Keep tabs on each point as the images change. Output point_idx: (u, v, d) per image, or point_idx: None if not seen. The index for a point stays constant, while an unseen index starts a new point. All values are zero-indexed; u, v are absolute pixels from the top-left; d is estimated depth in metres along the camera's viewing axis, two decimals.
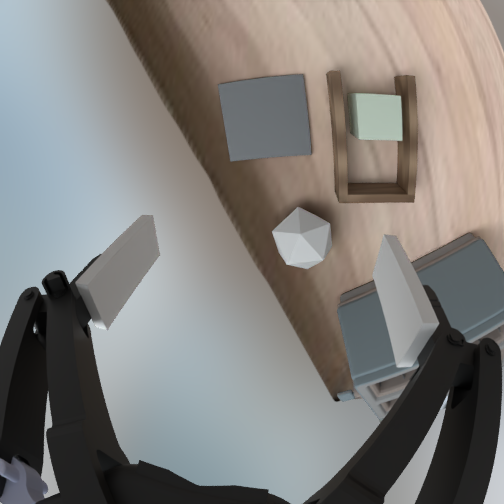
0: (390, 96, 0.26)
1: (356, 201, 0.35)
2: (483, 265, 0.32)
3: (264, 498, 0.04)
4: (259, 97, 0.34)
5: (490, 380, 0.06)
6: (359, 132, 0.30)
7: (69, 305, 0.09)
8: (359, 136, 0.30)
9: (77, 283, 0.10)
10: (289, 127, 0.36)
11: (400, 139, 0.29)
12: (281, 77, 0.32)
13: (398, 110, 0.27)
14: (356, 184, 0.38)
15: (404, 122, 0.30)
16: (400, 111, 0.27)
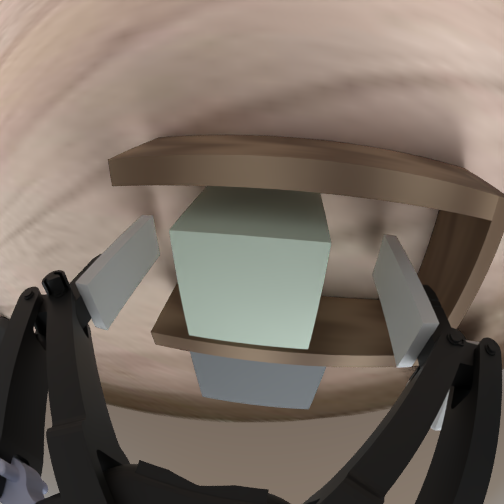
0: (178, 262, 0.11)
1: None
2: None
3: (264, 498, 0.04)
4: (224, 376, 0.24)
5: (490, 380, 0.06)
6: (289, 345, 0.13)
7: (69, 305, 0.09)
8: (300, 346, 0.13)
9: (77, 283, 0.10)
10: None
11: (325, 249, 0.10)
12: None
13: (219, 244, 0.10)
14: None
15: None
16: (222, 237, 0.10)
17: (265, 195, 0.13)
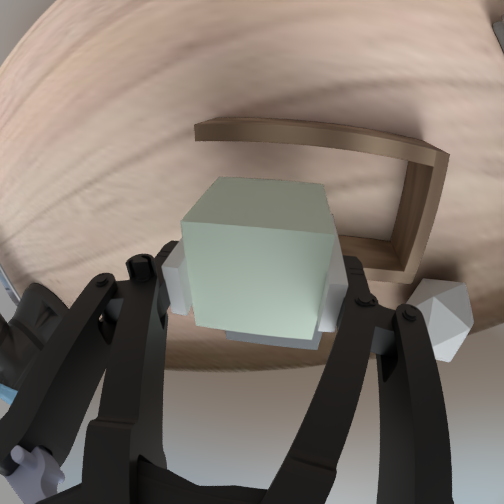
0: (188, 252, 0.11)
1: (418, 260, 0.19)
2: None
3: None
4: None
5: (417, 347, 0.07)
6: (294, 336, 0.13)
7: (151, 293, 0.10)
8: (304, 336, 0.13)
9: (164, 267, 0.11)
10: None
11: (329, 240, 0.10)
12: None
13: (229, 235, 0.11)
14: (397, 224, 0.23)
15: None
16: (231, 228, 0.10)
17: (271, 190, 0.14)
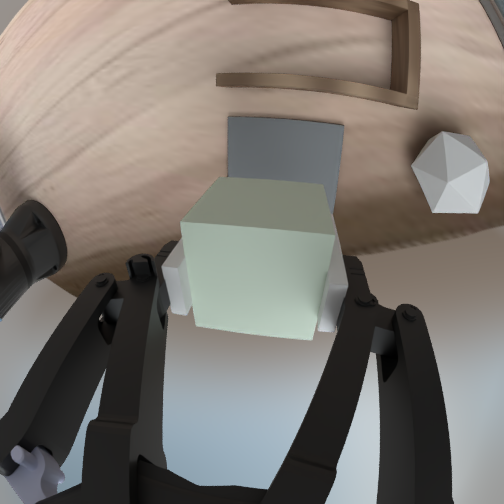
0: (188, 253, 0.11)
1: (417, 84, 0.17)
2: None
3: None
4: (253, 175, 0.29)
5: (417, 347, 0.07)
6: (294, 336, 0.13)
7: (151, 294, 0.10)
8: (304, 337, 0.13)
9: (164, 267, 0.11)
10: (301, 146, 0.27)
11: (329, 241, 0.10)
12: (230, 143, 0.28)
13: (228, 235, 0.11)
14: (392, 74, 0.20)
15: None
16: (231, 229, 0.10)
17: (271, 190, 0.14)
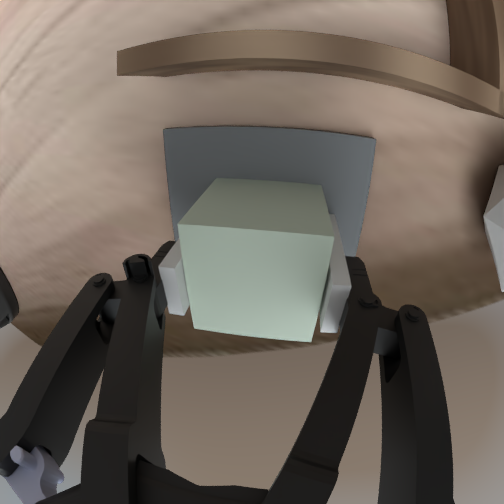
0: (185, 255, 0.11)
1: None
2: None
3: (264, 498, 0.04)
4: None
5: (420, 348, 0.07)
6: (293, 338, 0.13)
7: (148, 294, 0.10)
8: (303, 339, 0.13)
9: (161, 267, 0.11)
10: (296, 179, 0.15)
11: (328, 242, 0.10)
12: (170, 176, 0.16)
13: (226, 237, 0.11)
14: (455, 53, 0.09)
15: None
16: (229, 231, 0.10)
17: (269, 191, 0.14)
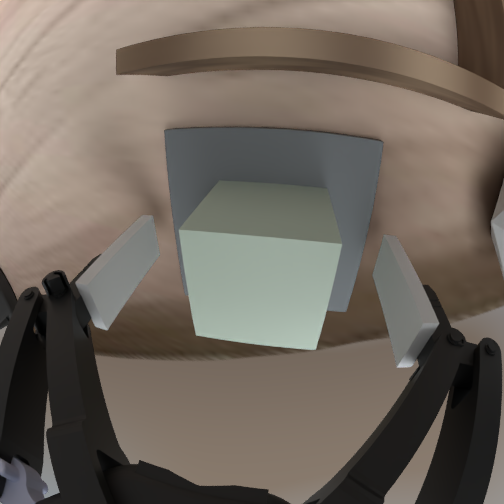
0: (187, 262, 0.11)
1: None
2: None
3: (264, 498, 0.04)
4: None
5: (490, 380, 0.06)
6: (297, 346, 0.13)
7: (69, 305, 0.09)
8: (307, 346, 0.13)
9: (77, 283, 0.10)
10: (301, 182, 0.14)
11: (335, 250, 0.10)
12: (172, 178, 0.15)
13: (229, 244, 0.10)
14: (463, 54, 0.08)
15: None
16: (232, 237, 0.10)
17: (274, 195, 0.13)
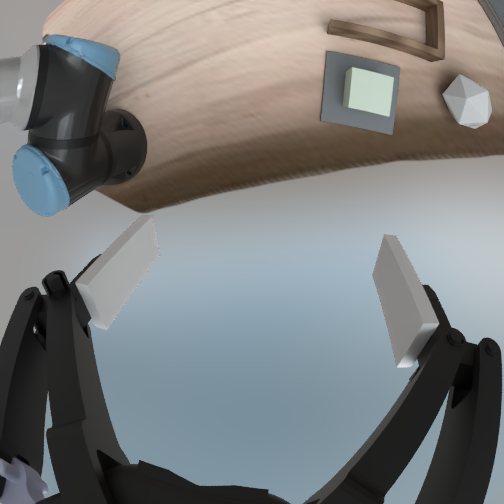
0: (353, 76, 0.29)
1: (443, 45, 0.23)
2: None
3: (264, 498, 0.04)
4: (342, 90, 0.35)
5: (490, 380, 0.06)
6: (383, 114, 0.31)
7: (69, 305, 0.09)
8: (386, 115, 0.31)
9: (77, 283, 0.10)
10: None
11: (392, 78, 0.28)
12: (327, 67, 0.34)
13: (366, 73, 0.28)
14: (427, 42, 0.26)
15: None
16: (367, 71, 0.28)
17: None
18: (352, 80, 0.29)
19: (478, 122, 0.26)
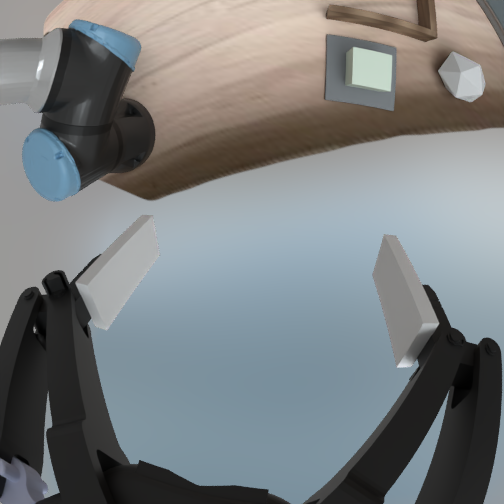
0: (354, 55, 0.29)
1: (435, 25, 0.23)
2: None
3: (264, 498, 0.04)
4: (344, 70, 0.35)
5: (490, 380, 0.06)
6: (384, 89, 0.31)
7: (69, 305, 0.09)
8: (388, 90, 0.31)
9: (77, 283, 0.10)
10: None
11: (391, 56, 0.28)
12: (328, 50, 0.34)
13: (366, 52, 0.28)
14: (420, 23, 0.26)
15: None
16: (367, 50, 0.28)
17: None
18: (354, 59, 0.29)
19: (473, 95, 0.26)
